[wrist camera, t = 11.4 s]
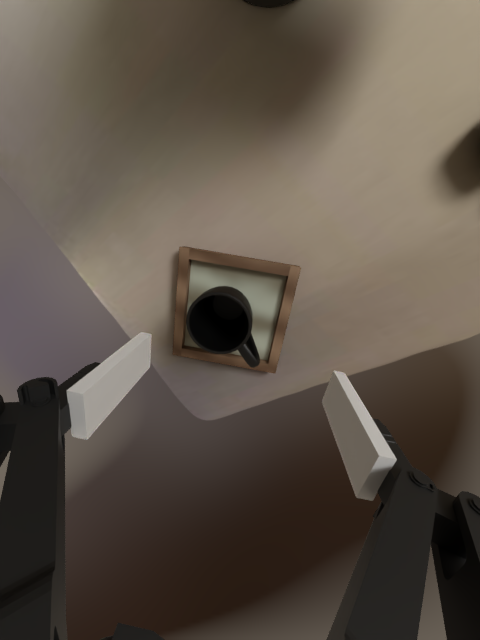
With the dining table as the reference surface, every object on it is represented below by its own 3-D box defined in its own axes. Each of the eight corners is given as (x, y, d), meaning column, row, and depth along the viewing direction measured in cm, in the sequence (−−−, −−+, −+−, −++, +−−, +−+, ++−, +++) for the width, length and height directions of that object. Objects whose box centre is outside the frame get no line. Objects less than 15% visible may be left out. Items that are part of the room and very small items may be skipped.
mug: (236, 353, 40) (229, 386, 31) (193, 297, 37) (172, 316, 28) (276, 329, 38) (281, 357, 29) (234, 268, 35) (225, 277, 26)
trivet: (184, 246, 36) (179, 246, 33) (298, 266, 35) (301, 267, 33) (176, 348, 42) (172, 354, 39) (274, 366, 41) (275, 373, 39)
